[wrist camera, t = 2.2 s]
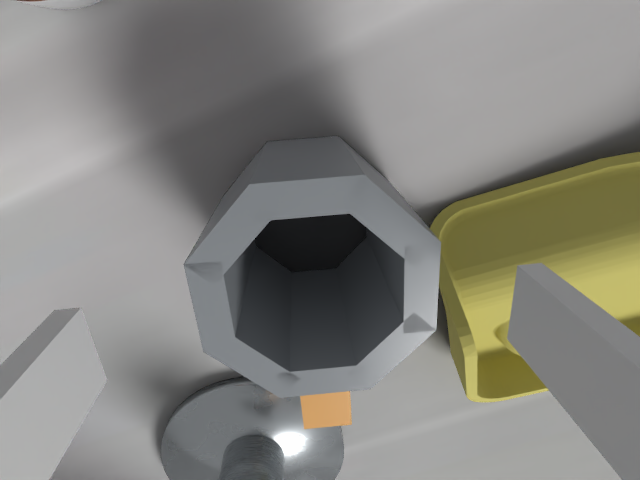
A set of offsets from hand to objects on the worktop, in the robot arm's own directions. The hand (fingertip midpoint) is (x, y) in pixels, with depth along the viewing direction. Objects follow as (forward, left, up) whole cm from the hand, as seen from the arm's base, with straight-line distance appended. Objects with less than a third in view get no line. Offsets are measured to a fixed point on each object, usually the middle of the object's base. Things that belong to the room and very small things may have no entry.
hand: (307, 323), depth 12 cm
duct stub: (+5, +16, -9) cm, 19 cm away
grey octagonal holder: (0, +1, -9) cm, 9 cm away
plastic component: (-17, +4, -10) cm, 20 cm away
